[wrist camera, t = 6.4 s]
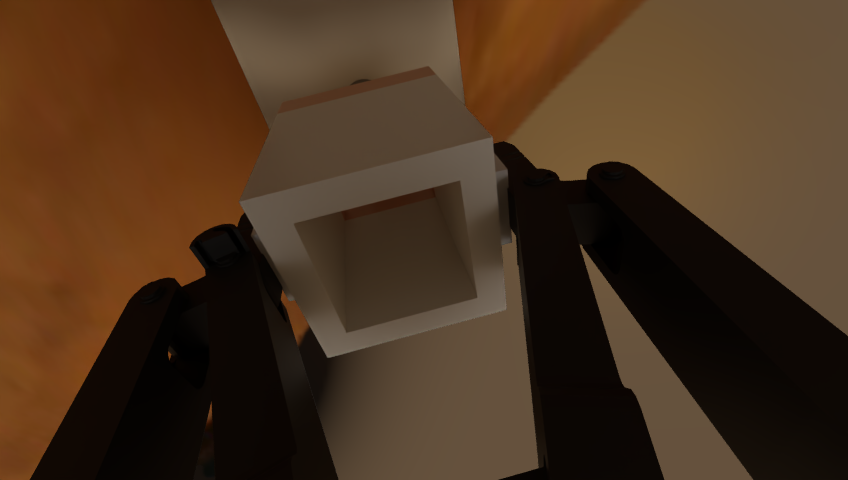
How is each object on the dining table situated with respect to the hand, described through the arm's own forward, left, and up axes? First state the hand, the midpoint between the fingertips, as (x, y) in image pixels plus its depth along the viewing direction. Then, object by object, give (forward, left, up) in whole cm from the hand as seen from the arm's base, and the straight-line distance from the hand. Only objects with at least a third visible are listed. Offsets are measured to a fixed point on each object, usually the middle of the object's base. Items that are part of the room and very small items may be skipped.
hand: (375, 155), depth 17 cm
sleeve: (0, 0, 0) cm, 0 cm away
